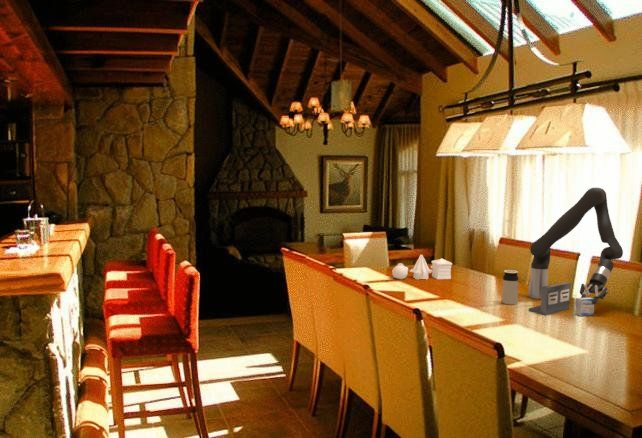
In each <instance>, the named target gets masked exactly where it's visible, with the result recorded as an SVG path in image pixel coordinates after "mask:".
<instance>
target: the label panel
mask: <svg viewBox="0 0 642 438" xmlns="http://www.w3.org/2000/svg"><path fill="white" fill-rule="evenodd" d="M571 284H572V283H571V282H567V281H563V282H560V283H555V284H550V285H548V286H544V287H542V293H541V299H540V300H541V301H540V305H536V306H533V307H528V312H531V313H535V314H540V315H545V316H547V315H551V314H555V313H558V312H562V311H566V310H570V309H571V308H570V304H571V303H570V302H571V301H570V300H571Z"/></svg>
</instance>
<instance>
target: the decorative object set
mask: <svg viewBox="0 0 642 438" xmlns="http://www.w3.org/2000/svg"><path fill="white" fill-rule="evenodd" d="M431 264H432V265H430V268H429V266H428V264H427V261H426V258H425V257H424V255H423V254H420V255H419V257H418V259H417V260H416V263H415V264H414V266H413V267H412V268H411V269H409V267H407V266H405V265H404V263H402V262H400V263H397V265H395V266H394V267H393V268H392V270H391V272H392V277H393V278H394V279H397V280H404V279H405V278H406V277H407V276H408V272H410V273H413V279H414V278H415V280H419V279H426V280H428V279H429V274H431V273H432V274H431V277H432V278H434V279H436V280H451V279H452V273H451V272H452V266H453V263H452V262H451V261H449V260H446V259H444V258H442V257H441V258H440V259H439V258H438V259H435V260H431Z"/></svg>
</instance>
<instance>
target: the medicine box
mask: <svg viewBox="0 0 642 438" xmlns="http://www.w3.org/2000/svg"><path fill="white" fill-rule="evenodd" d="M593 299H594V298H593V297H589V296H586V298H581V297H575V309H574V310H575V313H574V314H575V315H576V316H580V317H584V316H585V317H589V316H590V317H591V316H594V314H595V313H594V312H595V305H593V304H592V301H593Z"/></svg>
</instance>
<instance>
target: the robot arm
mask: <svg viewBox="0 0 642 438" xmlns="http://www.w3.org/2000/svg"><path fill="white" fill-rule="evenodd" d="M593 208H594V210H595V214H596V222H597V225H596V226H597V229H598V234H599V237H600V240H601V243H604V244H607V245H608V246H607V247H605V248H603V249H602V250H601V252H600V258H599V263H598V264H597V267H596V268H595V270H594V271H593V273H592V276H591V278H590V279H589V282H588V283H587V284H584V283H581V284H580V290H579V294H580V295H581V297H580V298H586V297H588V296H589V295H591V294H595V296H594V298H593V301H592V304H593V305H594V306H595V305H597V304H598V301H599V300H600V299H601V300H603V299H604V298H605V297H606V296H607V294H608V293H609V288H608V287H605V286H606V284H607V283H608V280H609V278H610V277H611V273H612V271H613V269H614V266H615V264H614V262H613V261H615V260H618V259H621V258H623V255H624V250H623V248H622V247H623V246H621V244H620V242H619V241H618V239H617V238H616V235H615V232H614V228H613V225H612V220H611V217H610V214H609V207H608V200H607V192H606V191H605V190H604V189H603V188H602V187H591V188H589V189H587V190H586V192H585V193H584V194H583V195H582V197H580V199H578V201H577V202H576V203H575V204H574V205H573V206H572V207H570V208H569V209H568V210H567V211H565V212H564V214H562V215H561V216H560V217H559V218H558V219H557V220H556V221H555V222H554V223H553V224H552V225H551V226H550V228H549V229H548V230H547V231H546V232H545V233H544V234H543V235H541V236H540V237H539V238H537V239H536V240H535V241H534V242H532V244H531V245H530V247H529V250H530V251H529V252H530V254H531V255H532V256H533V259H532V262H531V264H530V266H531V267H530V280H529V281H528V297H529V298H531V299H537V300H541V293H542V287H544V286H549V285H548V283H549V266H550V263H551V262H550V261H551V247H552V246H553V245H554V244H555V243H556V242H558V241H559V240H561V239H562V238H564V237H565V236H567V235H568V234H570V233H571V232H572V231H573V230H574V229H575V228H576V227H577V226H578V225H579V224H580V223H581V221H582V220H583V218H584V217H585V215H586V214H587V213H588V212H590V210H592V209H593Z"/></svg>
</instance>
